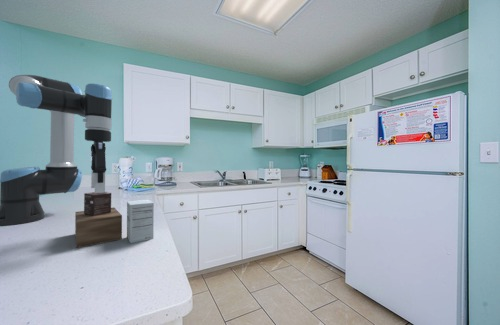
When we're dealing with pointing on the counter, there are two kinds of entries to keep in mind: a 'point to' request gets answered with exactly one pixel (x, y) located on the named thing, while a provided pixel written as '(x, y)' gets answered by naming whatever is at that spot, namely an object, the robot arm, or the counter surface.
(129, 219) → the supplement box
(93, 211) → the box
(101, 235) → the walnut stand
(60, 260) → the counter surface
